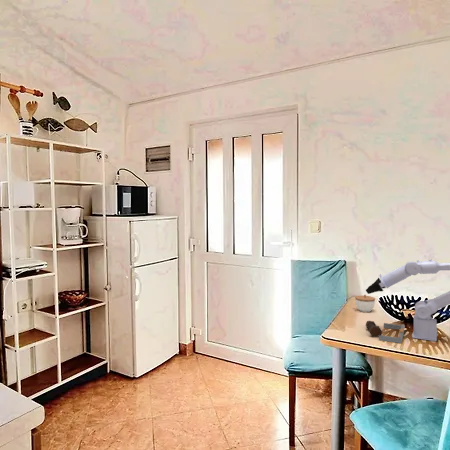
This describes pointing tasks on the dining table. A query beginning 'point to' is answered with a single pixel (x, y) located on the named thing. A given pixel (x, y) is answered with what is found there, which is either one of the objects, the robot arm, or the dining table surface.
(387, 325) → the hub cradle
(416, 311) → the robot arm
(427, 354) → the dining table surface
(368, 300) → the lidded jar
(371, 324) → the bolt
